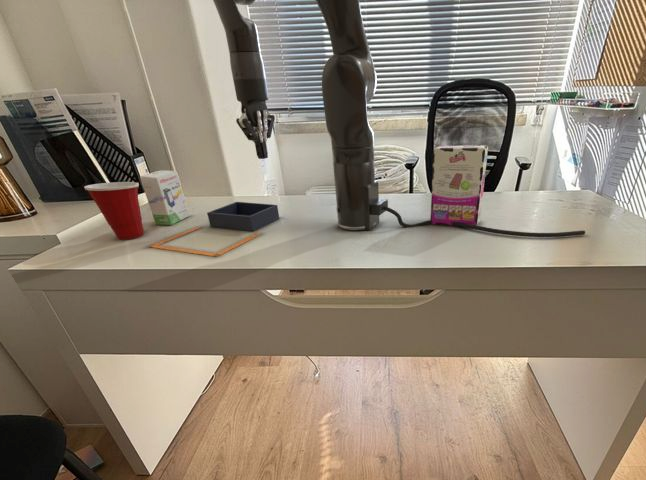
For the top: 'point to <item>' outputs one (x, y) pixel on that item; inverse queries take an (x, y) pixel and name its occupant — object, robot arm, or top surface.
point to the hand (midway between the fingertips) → (263, 158)
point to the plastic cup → (119, 207)
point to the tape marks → (198, 251)
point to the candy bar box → (458, 184)
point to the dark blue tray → (243, 216)
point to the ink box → (165, 197)
